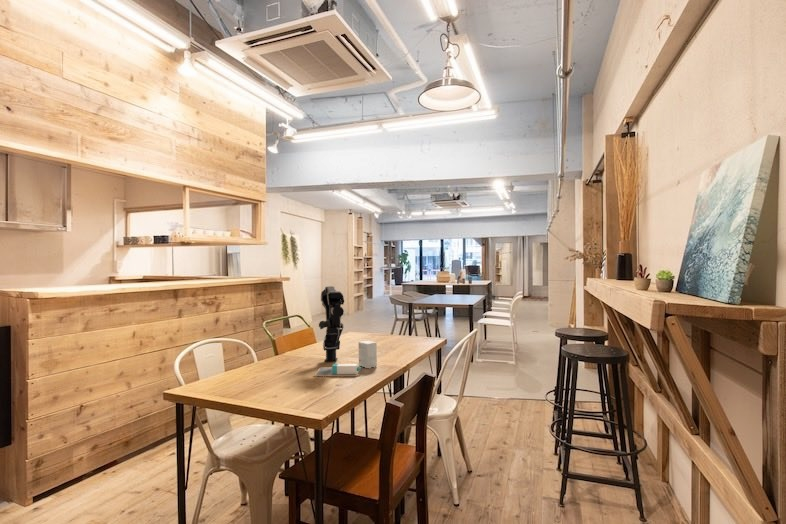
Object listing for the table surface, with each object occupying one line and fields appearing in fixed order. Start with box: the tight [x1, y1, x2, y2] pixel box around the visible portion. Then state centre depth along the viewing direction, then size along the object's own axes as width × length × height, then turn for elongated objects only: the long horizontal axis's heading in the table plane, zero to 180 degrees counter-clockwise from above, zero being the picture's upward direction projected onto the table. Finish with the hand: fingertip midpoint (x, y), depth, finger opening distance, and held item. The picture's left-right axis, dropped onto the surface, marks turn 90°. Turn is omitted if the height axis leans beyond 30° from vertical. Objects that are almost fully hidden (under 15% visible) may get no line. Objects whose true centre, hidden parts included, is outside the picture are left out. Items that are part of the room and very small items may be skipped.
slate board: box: [313, 366, 360, 378], centre depth 214 cm, size 15×21×1 cm
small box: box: [358, 340, 378, 369], centre depth 225 cm, size 8×6×13 cm
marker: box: [331, 363, 362, 374], centre depth 211 cm, size 4×14×4 cm, turn 88°
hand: (335, 344), depth 225 cm, fingers open, 9 cm apart
